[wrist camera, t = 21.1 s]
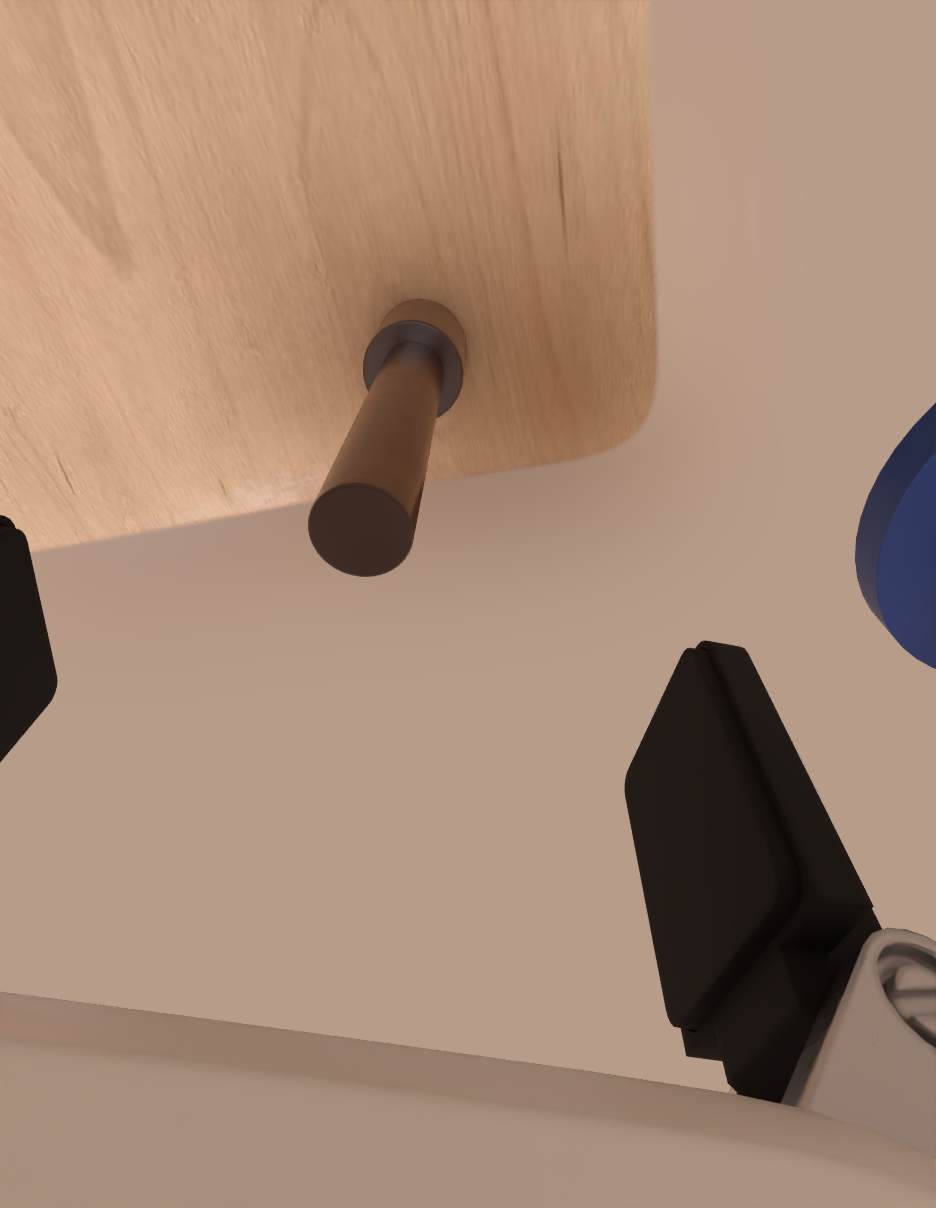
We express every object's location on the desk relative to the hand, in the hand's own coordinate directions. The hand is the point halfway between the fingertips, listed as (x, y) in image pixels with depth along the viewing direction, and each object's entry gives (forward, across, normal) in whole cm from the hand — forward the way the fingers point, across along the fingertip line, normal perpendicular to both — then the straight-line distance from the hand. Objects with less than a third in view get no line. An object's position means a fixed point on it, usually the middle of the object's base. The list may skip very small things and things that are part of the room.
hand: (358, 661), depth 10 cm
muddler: (+21, +1, 0) cm, 21 cm away
